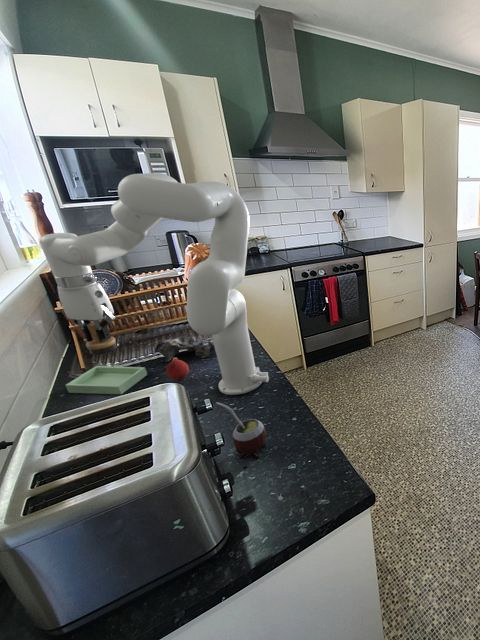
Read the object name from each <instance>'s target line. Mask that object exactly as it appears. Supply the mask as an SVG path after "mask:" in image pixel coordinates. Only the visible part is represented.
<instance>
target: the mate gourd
mask: <svg viewBox="0 0 480 640" xmlns="http://www.w3.org/2000/svg"><path fill="white" fill-rule="evenodd" d="M215 404H216V405H218V406H220V407H222V408H224V409H226V410H227V411H228V413H229V414H230V415H232V417H233V418H234V419H235V421H236V422H237V425H236V426H235V428H234V429H233V431H232V443H233V445H234V448H235V450H236V452H237V453H238V454H239V456H238V457H239V459H244V458H246V457H248V456H250V455H252V456H253V457H254V458H255V460H259V459H260V458H261V457H260V455H259V451H260V450H262V449H264V448H266V447H267V442H266V439H267V429H266V427H265V426H264V424H263V423H262V422H261V421H260V420H258V419H256V418H249V419H245V420H243V421H241V420H240V419H239V417H238V416H237V414H236V413H235V412H234V410H233V409H232V408H231V407H230V406H227V404H224V403H222V402H218V401H216V402H215ZM243 453H244V454H243ZM254 453H255V454H256V455H257V454H258V455H257V456H256V455H255V454H254ZM241 454H242V455H241Z"/></svg>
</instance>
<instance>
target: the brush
mask: <svg viewBox="0 0 480 640" xmlns="http://www.w3.org/2000/svg"><path fill="white" fill-rule="evenodd" d="M87 326H88V329H89V331H90V334H91V336H92V339H93V341H91V342H88V341H86V342H85V346H86V349H88V351H89V353H90V355H93V356H98V355H105V354H108V353H111V352H113V351H115V350H116V349H117V348H118V346H117V344H116V342H117V341H116V338H115V337H114V336H112V335H111V338H110V339H108V340H106V341H105V342H100V341H99V338H98V336H97V333H96V330H97V328H96V326H95V324H94V322H93V321H92V323H90V324H88V325H87Z"/></svg>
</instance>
